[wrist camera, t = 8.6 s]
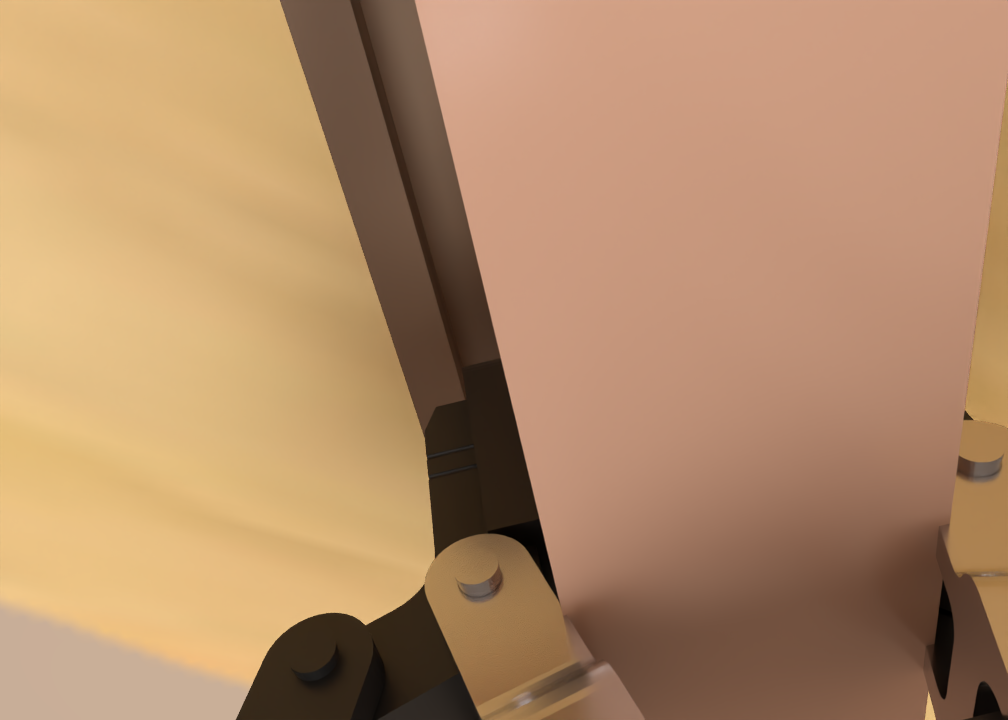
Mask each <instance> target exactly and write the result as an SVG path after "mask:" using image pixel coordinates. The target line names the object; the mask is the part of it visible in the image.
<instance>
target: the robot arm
mask: <svg viewBox="0 0 1008 720" xmlns="http://www.w3.org/2000/svg"><path fill="white" fill-rule="evenodd" d="M462 374H463V380H464V386H465V393H466V399H467V400H462V401H458V402H454V403H450V404H446V405H442V406H437V407H436V408H435V410H434V412H433V414H432V416H431V418H430V420H429V423H428V425H427V427H426V429H425V431H424V432H425V444H426V455H427V466H428V476H429V489H430V500H431V512H432V523H433V534H434V546H435V560H434V561H433V562H432V564H431V566H430V567H429V569H428V572H427V574H426V578H425V584H424V585H423V587H422V588H421V589H420V590H419V591H418V592H417V593H416V594H415V595H414V596H413V597H412V598H411V599H410V600H409V601H407V602H406V603H405V604H403V605H402V606H400V607H399V608H397V609H395V610H394V611H392V612H390V613H388V614H386V615H384V616H382V617H381V618H379V619H377V620H375V621H373V622H371V623H369V624H367V625H366V626H365V625H364V624H363V623H362V622H361V621H360V620H358V619H357V618H355V617H353V616H350V615H347V614H341V613H326V614H320V615H316V616H313V617H310V618H307V619H305V620H303V621H301V622H299V623H297V624H296V625H294V626H293V627H291V628H290V629H288V630H287V631H286V632H285V633H283V634H282V635H281V636H280V637H279V638H278V639H277V640H276V641H275V643H274V644H273V645H272V647H271V648H270V649H269V651H268V653H267V654H266V656H265V658H264V660H263V662H262V664H261V667H260V669H259V671H258V673H257V675H256V677H255V680H254V682H253V684H252V686H251V688H250V690H249V693H248V695H247V697H246V699H245V701H244V703H243V706H242V708H241V710H240V712H239V714H238V716H237V719H236V720H645V718H644V716H643V715H642V713H641V712H640V710H639V709H638V707H637V705H636V704H635V702H634V701H633V699H632V697H631V696H630V694H629V693H628V691H627V690H626V688H625V686H624V685H623V683H622V682H621V680H620V678H619V677H618V675H617V674H616V672H615V671H614V670H613V668H612V667H611V666H610V665H609V664H608V663H607V662H606V661H605V660H600V661H598V662H597V661H596V660H595V659H594V657H593V656H592V655H591V653H590V652H589V650H588V648H587V647H586V645H585V643H584V642H583V640H582V639H581V637H580V635H579V634H578V632H577V630H576V629H575V627H574V626H573V624H572V622H571V621H570V619H569V617H568V616H567V615H564V616H563V614H562V610H561V606H560V601H559V597H558V593H557V589H556V585H555V581H554V577H553V572H552V568H551V564H550V560H549V556H548V552H547V547H546V543H545V539H544V535H543V531H542V527H541V523H540V518H539V514H538V510H537V506H536V502H535V498H534V494H533V489H532V485H531V481H530V477H529V473H528V469H527V464H526V460H525V456H524V452H523V448H522V444H521V440H520V435H519V431H518V427H517V423H516V419H515V415H514V410H513V406H512V402H511V398H510V394H509V390H508V386H507V381H506V377H505V373H504V369H503V365H502V361H501V358H498V359H494V360H490V361H486V362H482V363H478V364H473V365H469V366H465V367H462ZM936 559H937V562H938V565H939V568H940V572H941V575H942V578H943V581H942V589H941V597H940V604H939V612H938V620H937V628H936V635H935V643H934V644H932V645H927V646H926V648H925V657H924V666H923V672H924V675H925V679H926V683H927V686H928V690H929V694H930V697H931V701H932V705H933V709H934V713H935V717H936V720H1008V428H1006V427H1003V426H1000V425H997V424H994V423H989V422H984V421H975V420H973V419H972V418H971V417H970V416H969V415H968V413H967V412H966V411H964V419H963V426H962V434H961V442H960V450H959V457H958V465H957V473H956V481H955V488H954V496H953V504H952V512H951V519H950V524H946V525H942V526H939V531H938V540H937V549H936Z"/></svg>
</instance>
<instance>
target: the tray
mask: <svg viewBox="0 0 1008 720" xmlns="http://www.w3.org/2000/svg"><path fill="white" fill-rule="evenodd" d="M280 2H281V5H282V8H283V11H284V14H285V17H286V20H287V23H288V26H289V29H290V32H291V35H292V38H293V41H294V44H295V47H296V50H297V53H298V56H299V59H300V62H301V65H302V68H303V71H304V74H305V77H306V80H307V83H308V86H309V89H310V92H311V95H312V98H313V101H314V104H315V108H316V111H317V114H318V117H319V120H320V123H321V126H322V129H323V132H324V135H325V138H326V141H327V144H328V147H329V150H330V153H331V156H332V159H333V162H334V165H335V168H336V171H337V174H338V177H339V180H340V183H341V186H342V189H343V192H344V195H345V198H346V201H347V204H348V207H349V210H350V213H351V216H352V219H353V222H354V225H355V228H356V231H357V234H358V237H359V240H360V243H361V246H362V250H363V253H364V256H365V259H366V262H367V265H368V268H369V271H370V274H371V277H372V280H373V283H374V286H375V289H376V292H377V295H378V298H379V301H380V304H381V307H382V310H383V313H384V316H385V319H386V322H387V325H388V328H389V331H390V334H391V337H392V340H393V343H394V346H395V349H396V352H397V355H398V358H399V361H400V364H401V367H402V370H403V373H404V376H405V379H406V382H407V385H408V388H409V392H410V395H411V398H412V401H413V404H414V407H415V410H416V413H417V416H418V419H419V422H420V425H421V428H422V431H423V434H424V437H425V432H424V431H425V429H426V427H427V425H428V423H429V420H430V418H431V416H432V414H433V412H434V410H435V408H436V407H437V406H442V405H446V404H450V403H454V402H458V401H462V400H467V399H466V393H465V386H464V380H463V374H462V367H465V366H469V365H473V364H478V363H482V362H486V361H490V360H494V359H498V358H501V356H500V352H499V348H498V344H497V340H496V336H495V332H494V327H493V323H492V319H491V315H490V311H489V307H488V302H487V298H486V294H485V290H484V286H483V282H482V278H481V273H480V269H479V265H478V261H477V257H476V253H475V249H474V244H473V240H472V236H471V232H470V228H469V224H468V219H467V215H466V211H465V207H464V203H463V199H462V195H461V190H460V186H459V182H458V178H457V174H456V170H455V165H454V161H453V157H452V153H451V149H450V145H449V141H448V136H447V132H446V128H445V124H444V120H443V116H442V111H441V107H440V103H439V99H438V95H437V91H436V87H435V82H434V78H433V74H432V70H431V66H430V62H429V57H428V53H427V49H426V45H425V41H424V37H423V33H422V28H421V24H420V20H419V16H418V12H417V8H416V3H415V0H280Z"/></svg>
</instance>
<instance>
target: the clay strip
mask: <svg viewBox="0 0 1008 720" xmlns="http://www.w3.org/2000/svg"><path fill="white" fill-rule="evenodd" d="M415 3H416V8H417V12H418V16H419V20H420V24H421V28H422V33H423V37H424V41H425V45H426V49H427V53H428V57H429V62H430V66H431V70H432V74H433V78H434V82H435V87H436V91H437V95H438V99H439V103H440V107H441V111H442V116H443V120H444V124H445V128H446V132H447V136H448V141H449V145H450V149H451V153H452V157H453V161H454V165H455V170H456V174H457V178H458V182H459V186H460V190H461V195H462V199H463V203H464V207H465V211H466V215H467V219H468V224H469V228H470V232H471V236H472V240H473V244H474V249H475V253H476V257H477V261H478V265H479V269H480V273H481V278H482V282H483V286H484V290H485V294H486V298H487V302H488V307H489V311H490V315H491V319H492V323H493V327H494V332H495V336H496V340H497V344H498V348H499V352H500V356H501V361H502V365H503V369H504V373H505V377H506V381H507V386H508V390H509V394H510V398H511V402H512V406H513V410H514V415H515V419H516V423H517V427H518V431H519V435H520V440H521V444H522V448H523V452H524V456H525V460H526V464H527V469H528V473H529V477H530V481H531V485H532V489H533V494H534V498H535V502H536V506H537V510H538V514H539V518H540V523H541V527H542V531H543V535H544V539H545V543H546V547H547V552H548V556H549V560H550V564H551V568H552V572H553V577H554V581H555V585H556V589H557V593H558V597H559V601H560V606H561V610H562V614H563V616H564V615H567V616H568V617H569V619H570V621H571V622H572V624H573V626H574V627H575V629H576V630H577V632H578V634H579V635H580V637H581V639H582V640H583V642H584V643H585V645H586V647H587V648H588V650H589V652H590V653H591V655H592V656H593V657H594V659H595V660H596V661H597V662H598V661H600V660H605V661H606V662H607V663H608V664H609V665H610V666H611V667H612V668H613V670H614V671H615V672H616V674H617V675H618V677H619V678H620V680H621V682H622V683H623V685H624V686H625V688H626V690H627V691H628V693H629V694H630V696H631V697H632V699H633V701H634V702H635V704H636V705H637V707H638V709H639V710H640V712H641V713H642V715H643V716H644V718H645V720H925V713H926V705H927V697H928V686H927V683H926V679H925V675H924V672H923V666H924V657H925V648H926V646H927V645H932V644H934V643H935V635H936V628H937V620H938V612H939V604H940V597H941V589H942V581H943V578H942V575H941V572H940V568H939V565H938V562H937V559H936V549H937V540H938V531H939V526H942V525H946V524H950V519H951V512H952V504H953V496H954V488H955V481H956V473H957V465H958V457H959V450H960V442H961V434H962V426H963V419H964V411H965V403H966V395H967V388H968V380H969V372H970V364H971V357H972V349H973V341H974V334H975V326H976V318H977V310H978V303H979V295H980V287H981V279H982V272H983V264H984V256H985V248H986V241H987V233H988V225H989V217H990V210H991V202H992V194H993V187H994V179H995V171H996V163H997V156H998V148H999V140H1000V132H1001V125H1002V117H1003V109H1004V101H1005V94H1006V86H1007V78H1008V0H415Z"/></svg>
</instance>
